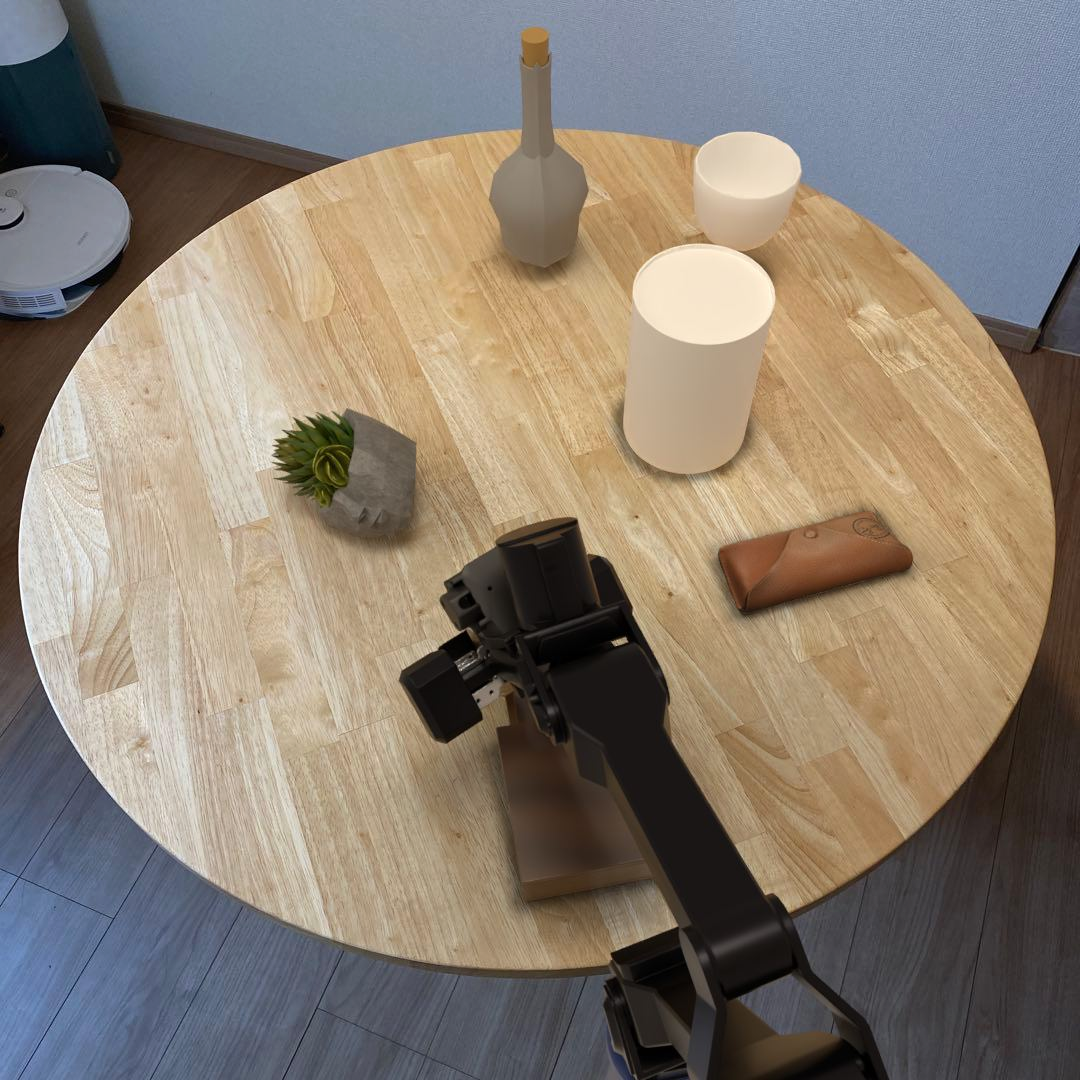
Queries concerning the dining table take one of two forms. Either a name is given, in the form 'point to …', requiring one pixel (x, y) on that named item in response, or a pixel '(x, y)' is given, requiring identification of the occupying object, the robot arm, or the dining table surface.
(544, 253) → the bottle
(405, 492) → the potted plant
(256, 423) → the dining table surface
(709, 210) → the cup
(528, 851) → the cabinet
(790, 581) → the sunglasses case
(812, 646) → the dining table surface
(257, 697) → the dining table surface
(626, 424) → the canister
